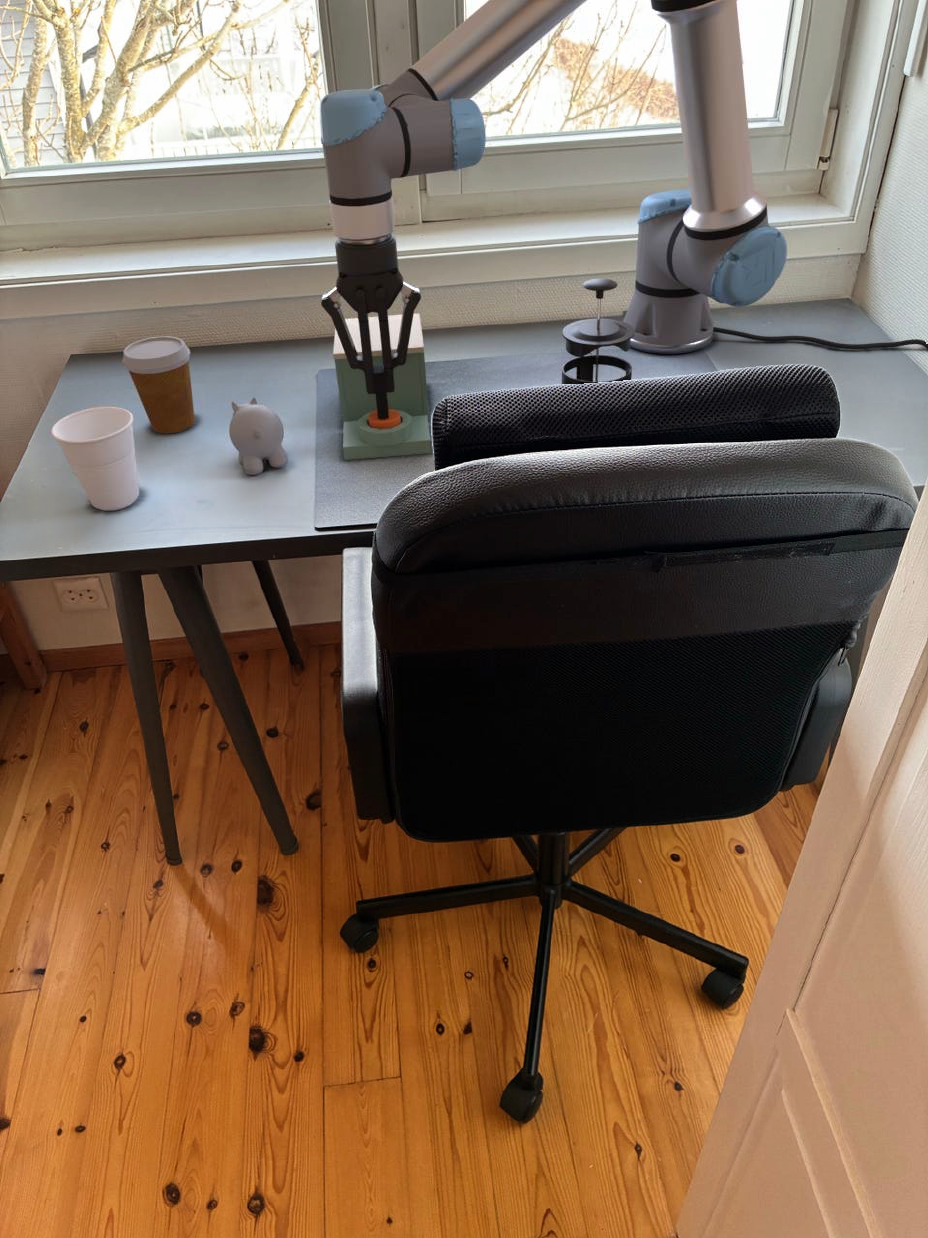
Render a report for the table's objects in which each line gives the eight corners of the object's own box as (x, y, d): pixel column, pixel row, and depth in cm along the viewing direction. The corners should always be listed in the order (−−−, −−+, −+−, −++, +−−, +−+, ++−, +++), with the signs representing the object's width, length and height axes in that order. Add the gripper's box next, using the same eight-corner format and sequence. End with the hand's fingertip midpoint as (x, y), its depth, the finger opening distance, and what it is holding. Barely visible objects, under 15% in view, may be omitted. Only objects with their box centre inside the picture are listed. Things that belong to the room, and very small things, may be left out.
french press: (639, 465, 124) (652, 291, 110) (570, 474, 123) (574, 299, 109) (612, 427, 134) (621, 261, 120) (548, 435, 133) (549, 269, 119)
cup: (61, 507, 123) (33, 430, 116) (121, 475, 129) (98, 400, 123) (110, 527, 118) (85, 448, 112) (170, 492, 125) (149, 416, 118)
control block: (428, 427, 136) (426, 401, 134) (431, 455, 130) (429, 428, 127) (345, 434, 136) (342, 408, 134) (344, 462, 129) (340, 435, 127)
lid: (424, 352, 131) (423, 346, 130) (333, 359, 131) (333, 353, 130) (419, 318, 142) (419, 312, 141) (336, 324, 141) (335, 319, 141)
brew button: (401, 422, 133) (399, 407, 131) (402, 437, 129) (400, 421, 128) (370, 425, 133) (368, 410, 131) (370, 439, 129) (368, 423, 128)
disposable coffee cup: (131, 424, 142) (109, 347, 135) (188, 405, 147) (170, 329, 139) (158, 445, 136) (137, 365, 129) (217, 424, 141) (199, 346, 134)
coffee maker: (429, 420, 138) (424, 349, 132) (343, 427, 138) (334, 356, 131) (425, 386, 148) (420, 318, 142) (345, 392, 148) (336, 324, 141)
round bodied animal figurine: (274, 434, 137) (264, 379, 132) (295, 469, 128) (284, 411, 123) (225, 445, 135) (213, 389, 130) (243, 481, 126) (230, 423, 121)
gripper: (416, 223, 118) (429, 399, 132) (312, 230, 118) (336, 406, 132) (419, 240, 112) (432, 422, 127) (310, 248, 112) (335, 429, 126)
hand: (383, 413), depth 129 cm, fingers closed
